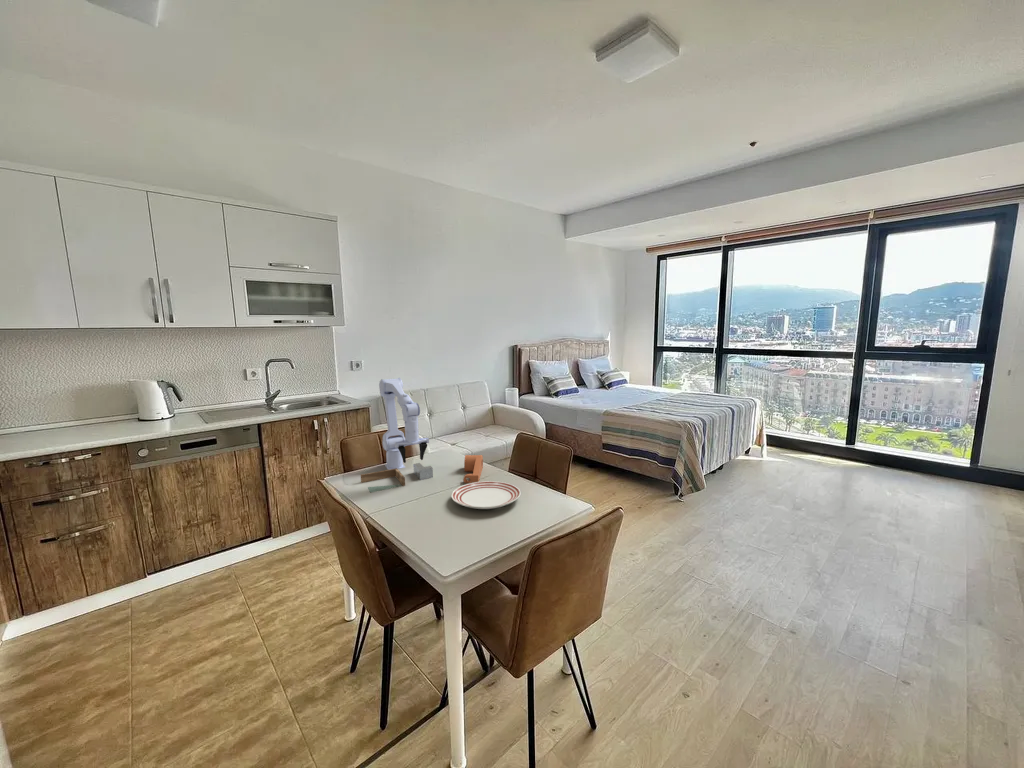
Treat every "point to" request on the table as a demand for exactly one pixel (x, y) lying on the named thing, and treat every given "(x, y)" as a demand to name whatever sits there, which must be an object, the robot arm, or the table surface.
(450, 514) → the table surface
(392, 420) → the robot arm
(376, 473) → the brown wooden l-shaped piece
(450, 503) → the table surface
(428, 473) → the bracket
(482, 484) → the dinner plate
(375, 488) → the pad
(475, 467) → the crank
